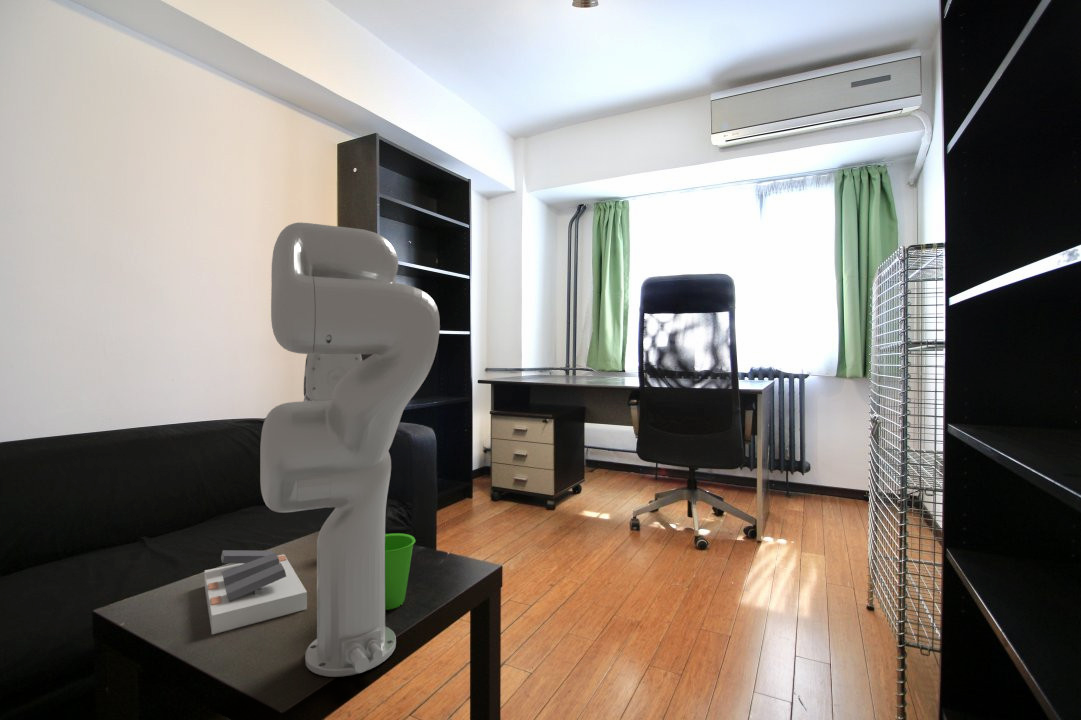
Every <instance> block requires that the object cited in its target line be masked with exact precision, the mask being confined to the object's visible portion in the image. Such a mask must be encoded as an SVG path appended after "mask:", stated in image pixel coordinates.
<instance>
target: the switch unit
mask: <svg viewBox="0 0 1081 720" xmlns="http://www.w3.org/2000/svg"><path fill="white" fill-rule="evenodd" d="M277 556H278V558H279V563H281V564H282V566H283V568H284V570H285V573H286V577H284V578H282V579H279V580H277V581H275V582H273V583H270V584H268V585H266V586H264V587H261V588H259V589H257V590H255V591H252V592H250V593H248V594H246V595H243V596H241V597H239V598H237V599H234V600H232V601H230V602H229V601H228V597H227V594H226V590H225V584H224V580H223V575H222V572H223V571H226V570H228V569H231V568H234V567H237V566H240V565H242V564H245V563H233V564H229V565H226V566H221V567H216V568H211V569H205V570H204V590H205V591H204V592H205V598H206V604H207V610H208V611H207V613H208V617H209V624H210V630H211V631H210V632H211V635H215V634H219V633H222V632H227V631H231V630H234V629H237V628H242V627H245V626H250V625H252V624H256V623H260V622H264V621H267V620H271V619H275V618H278V617H283V616H286V615H290V614H293V613H294V614H295V613H297V612H301V611H305V610H308V592H307V590H306V588H305V586H304V585H303V583H302V582H301V581H302V580H300V578H299V577H298V575H297V572H296V571H295V569H294V568H293V566H292V564H291V562H289V560H288V557H286V554H285V553H284V554H279V555H277ZM234 583H235V582H234ZM231 584H232V583H231ZM229 585H230V584H229ZM226 586H228V585H226Z"/></svg>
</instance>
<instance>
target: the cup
mask: <svg viewBox="0 0 1081 720" xmlns="http://www.w3.org/2000/svg"><path fill="white" fill-rule="evenodd" d="M415 543H416V539H415V537H414V536H413V535H411V534H407V533H398V532H397V533H385V611H386V610H394V609H397V608H399V607H400V605H401V606H402V605H403V604H404V603H403V602H405V600H406V594H407V587H408V582H409V573H410V568H411V561H412V555H413V547H414V545H415Z"/></svg>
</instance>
